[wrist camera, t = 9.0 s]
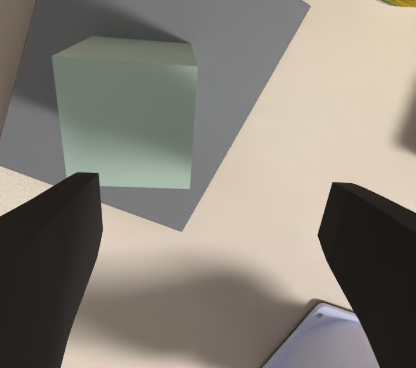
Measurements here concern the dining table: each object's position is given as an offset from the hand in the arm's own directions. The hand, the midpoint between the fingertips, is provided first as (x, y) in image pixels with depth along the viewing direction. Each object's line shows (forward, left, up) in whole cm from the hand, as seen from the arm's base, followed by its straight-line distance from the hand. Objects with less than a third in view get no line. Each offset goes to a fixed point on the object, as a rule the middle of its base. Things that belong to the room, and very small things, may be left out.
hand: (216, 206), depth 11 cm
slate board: (0, +3, -9) cm, 10 cm away
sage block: (0, +3, -9) cm, 9 cm away
